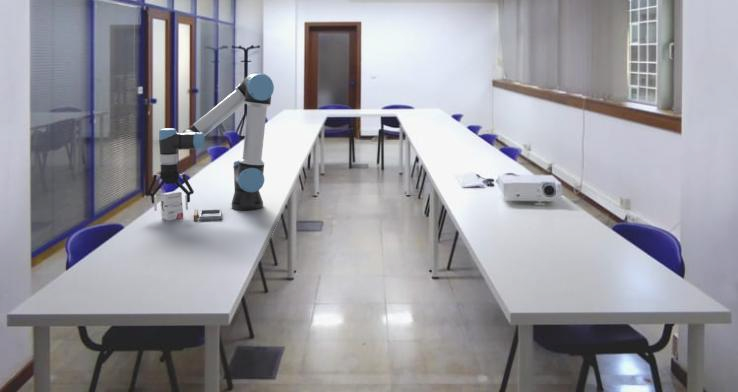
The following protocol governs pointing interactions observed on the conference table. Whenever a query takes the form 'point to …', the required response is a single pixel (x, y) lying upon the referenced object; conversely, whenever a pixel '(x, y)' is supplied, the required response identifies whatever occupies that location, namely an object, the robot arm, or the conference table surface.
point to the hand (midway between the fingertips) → (171, 209)
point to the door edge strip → (195, 215)
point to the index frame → (210, 215)
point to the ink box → (171, 205)
